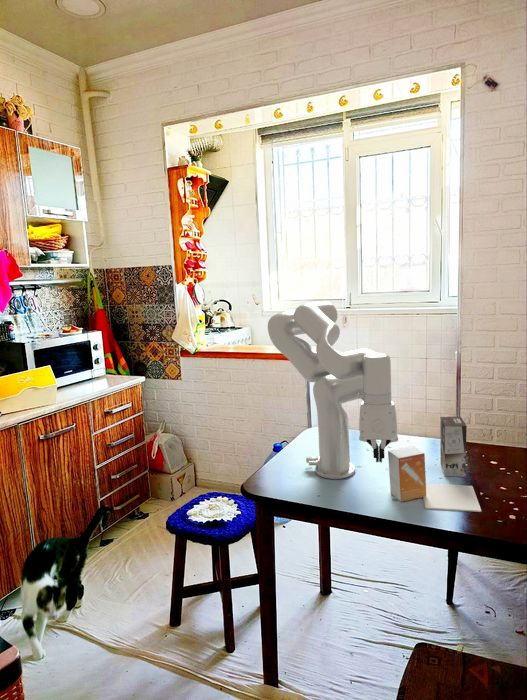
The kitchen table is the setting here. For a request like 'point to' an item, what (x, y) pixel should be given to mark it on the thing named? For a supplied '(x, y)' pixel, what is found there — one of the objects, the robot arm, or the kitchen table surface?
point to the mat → (451, 498)
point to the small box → (407, 473)
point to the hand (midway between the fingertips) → (379, 460)
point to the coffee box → (453, 446)
